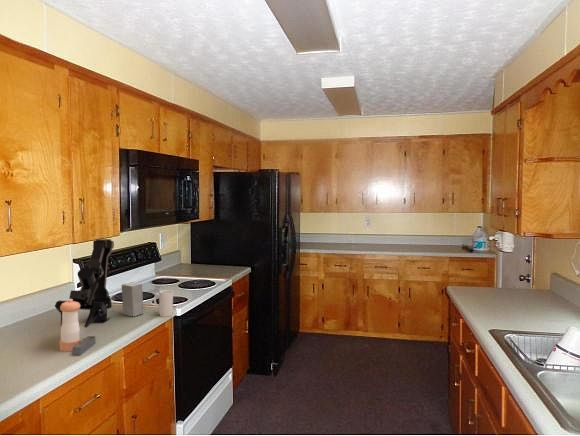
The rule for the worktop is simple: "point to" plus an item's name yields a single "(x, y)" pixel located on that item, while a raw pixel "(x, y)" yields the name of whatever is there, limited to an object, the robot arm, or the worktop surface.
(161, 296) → the mug
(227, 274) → the worktop surface
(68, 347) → the salt shaker
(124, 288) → the skincare box
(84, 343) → the steel bar
